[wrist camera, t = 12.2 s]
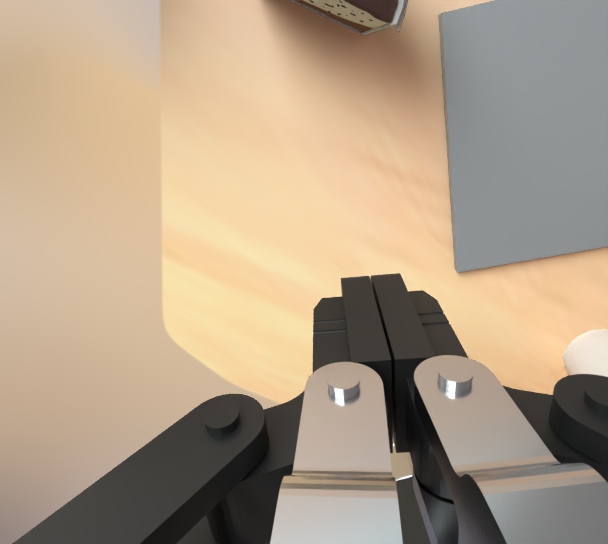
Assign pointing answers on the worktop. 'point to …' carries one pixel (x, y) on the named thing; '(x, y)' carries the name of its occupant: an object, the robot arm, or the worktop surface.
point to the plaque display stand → (526, 129)
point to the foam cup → (588, 354)
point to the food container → (360, 13)
